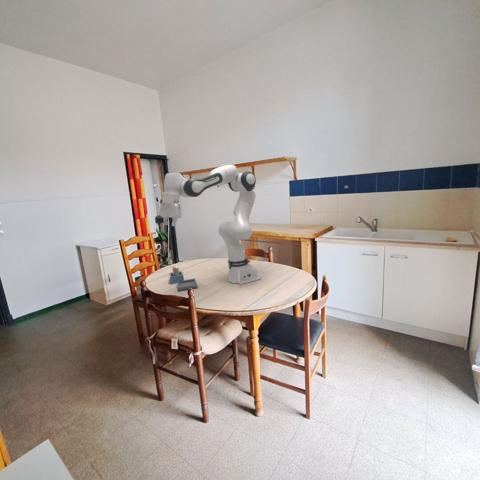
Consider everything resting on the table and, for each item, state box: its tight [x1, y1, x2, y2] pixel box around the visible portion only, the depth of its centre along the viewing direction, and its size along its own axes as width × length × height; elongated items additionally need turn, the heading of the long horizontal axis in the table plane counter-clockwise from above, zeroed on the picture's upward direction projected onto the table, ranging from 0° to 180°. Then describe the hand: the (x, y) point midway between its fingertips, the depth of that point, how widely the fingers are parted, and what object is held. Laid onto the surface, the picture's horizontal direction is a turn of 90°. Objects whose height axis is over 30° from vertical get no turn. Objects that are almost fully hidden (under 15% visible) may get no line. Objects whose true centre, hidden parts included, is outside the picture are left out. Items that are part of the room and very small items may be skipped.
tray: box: [176, 278, 199, 292], centre depth 169 cm, size 12×12×2 cm
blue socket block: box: [169, 270, 185, 285], centre depth 181 cm, size 9×9×5 cm
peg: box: [171, 265, 180, 276], centre depth 180 cm, size 4×4×10 cm
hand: (169, 225), depth 146 cm, fingers open, 8 cm apart
